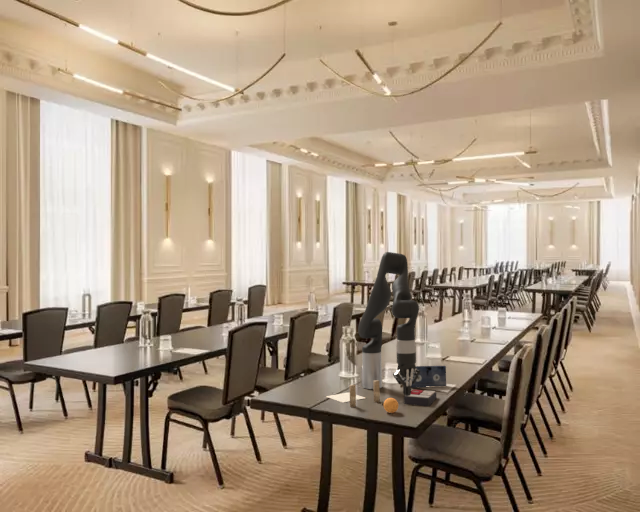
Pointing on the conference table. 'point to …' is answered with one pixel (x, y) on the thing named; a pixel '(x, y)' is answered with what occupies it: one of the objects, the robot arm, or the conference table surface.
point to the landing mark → (344, 397)
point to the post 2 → (376, 391)
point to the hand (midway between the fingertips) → (407, 395)
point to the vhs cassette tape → (430, 376)
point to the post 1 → (352, 395)
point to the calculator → (420, 398)
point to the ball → (391, 405)
